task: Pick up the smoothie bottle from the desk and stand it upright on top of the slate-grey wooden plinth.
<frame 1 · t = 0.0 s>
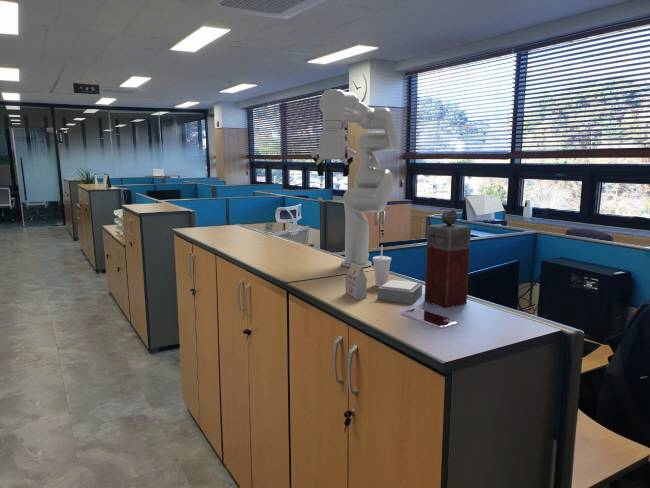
hand: (333, 176, 168), 37 cm above the table, tool pointing down, fingers open, 9 cm apart
plinth: (400, 296, 149), on the table
mobile phone: (428, 320, 128), on the table
red square canister: (442, 301, 144), on the table
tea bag: (355, 296, 150), on the table
smoothie: (381, 285, 163), on the table
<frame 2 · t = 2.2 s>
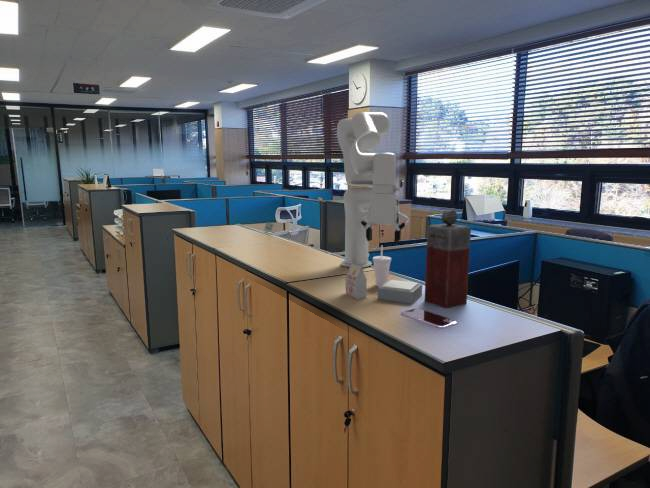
hand: (383, 241, 160), 15 cm above the table, tool pointing down, fingers open, 9 cm apart
nothing on the table moved.
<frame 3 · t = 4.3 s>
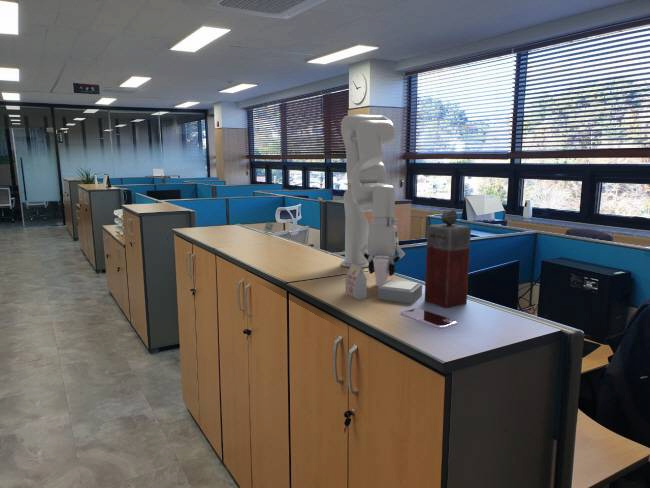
hand: (381, 273, 162), 4 cm above the table, tool pointing down, fingers closed on smoothie, 6 cm apart
smoothie: (381, 285, 163), on the table, touching gripper
everything else where it was.
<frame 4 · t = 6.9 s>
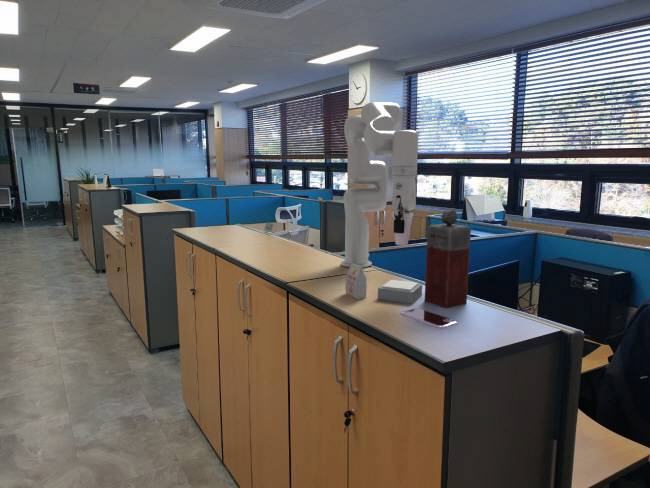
hand: (402, 230, 145), 21 cm above the table, tool pointing down, fingers closed on smoothie, 6 cm apart
smoothie: (401, 244, 146), point 17 cm above the table, touching gripper
everything else where it was.
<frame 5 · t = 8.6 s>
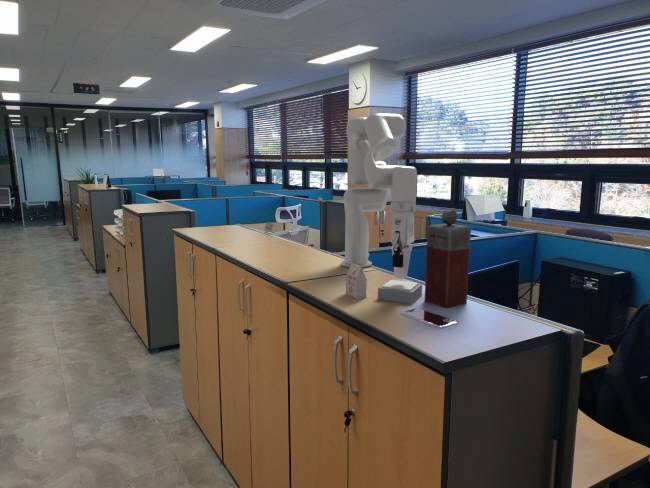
hand: (401, 264, 147), 10 cm above the table, tool pointing down, fingers closed on smoothie, 6 cm apart
smoothie: (400, 277, 148), point 6 cm above the table, touching gripper
everything else where it was.
when the fingers open (9 cm above the table, at t = 9.8 s): smoothie drops 1 cm, resting on plinth.
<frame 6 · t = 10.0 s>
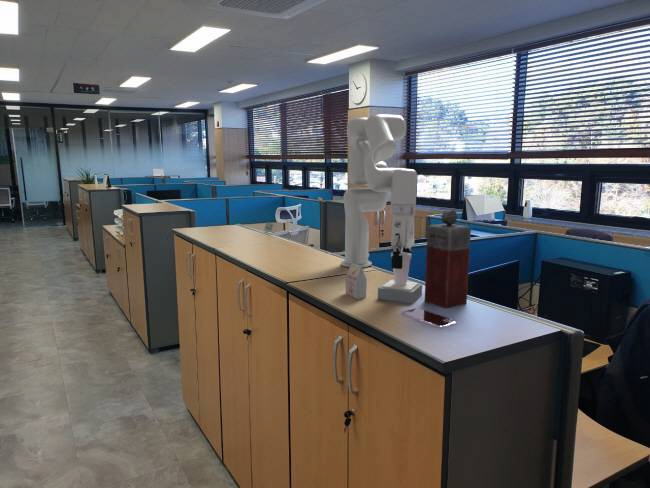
hand: (401, 265, 147), 10 cm above the table, tool pointing down, fingers open, 8 cm apart
smoothie: (400, 284, 149), point 4 cm above the table, touching plinth
everything else where it was.
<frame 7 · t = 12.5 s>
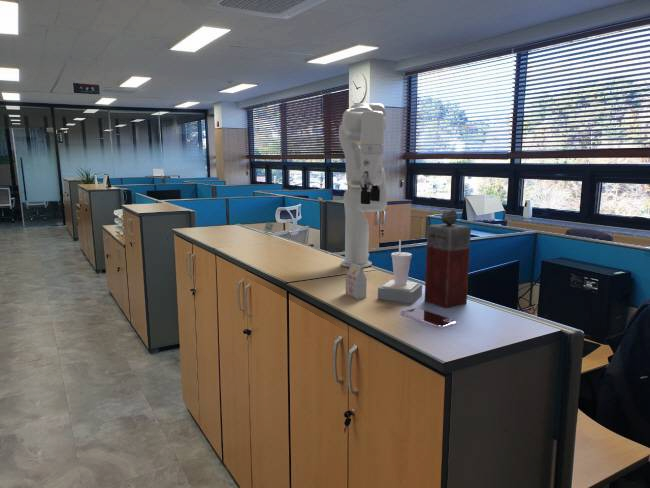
hand: (370, 202, 158), 28 cm above the table, tool pointing down, fingers open, 9 cm apart
nothing on the table moved.
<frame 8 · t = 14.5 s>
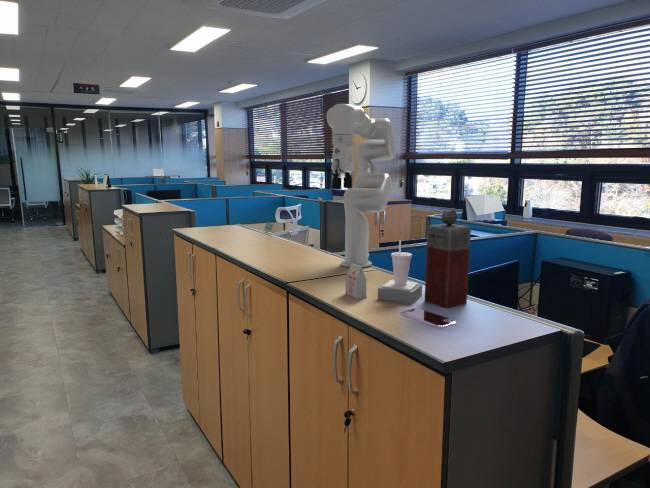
hand: (342, 188, 171), 32 cm above the table, tool pointing down, fingers open, 9 cm apart
nothing on the table moved.
at the end: smoothie inside the target area on the plinth (0.3 cm from its centre), point 3.8 cm above the plinth's base; smoothie tilted 0°; the gripper is holding nothing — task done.
